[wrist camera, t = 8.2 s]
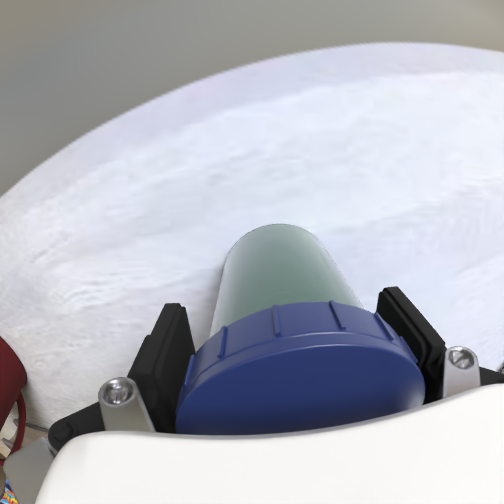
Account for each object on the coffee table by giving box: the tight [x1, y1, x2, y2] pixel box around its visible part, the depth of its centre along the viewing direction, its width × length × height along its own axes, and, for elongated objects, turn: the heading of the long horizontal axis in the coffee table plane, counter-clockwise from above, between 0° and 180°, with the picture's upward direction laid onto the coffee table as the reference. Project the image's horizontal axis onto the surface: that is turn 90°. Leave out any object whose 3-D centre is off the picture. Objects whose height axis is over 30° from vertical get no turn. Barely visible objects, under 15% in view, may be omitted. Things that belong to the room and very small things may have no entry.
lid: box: [175, 300, 425, 435], centre depth 7 cm, size 7×7×2 cm
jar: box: [209, 224, 364, 339], centre depth 11 cm, size 6×6×9 cm
